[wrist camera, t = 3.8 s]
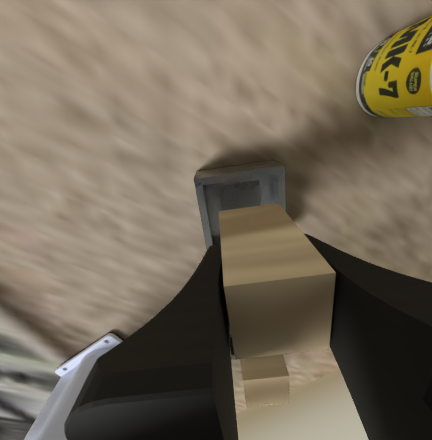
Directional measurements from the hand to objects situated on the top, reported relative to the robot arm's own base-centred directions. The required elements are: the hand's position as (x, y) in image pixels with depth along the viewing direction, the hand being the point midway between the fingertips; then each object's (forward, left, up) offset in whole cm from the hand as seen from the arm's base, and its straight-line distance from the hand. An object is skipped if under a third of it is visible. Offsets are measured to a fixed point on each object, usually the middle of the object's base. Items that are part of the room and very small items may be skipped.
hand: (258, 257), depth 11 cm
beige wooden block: (0, 0, -2) cm, 2 cm away
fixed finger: (-6, -10, -7) cm, 14 cm away
